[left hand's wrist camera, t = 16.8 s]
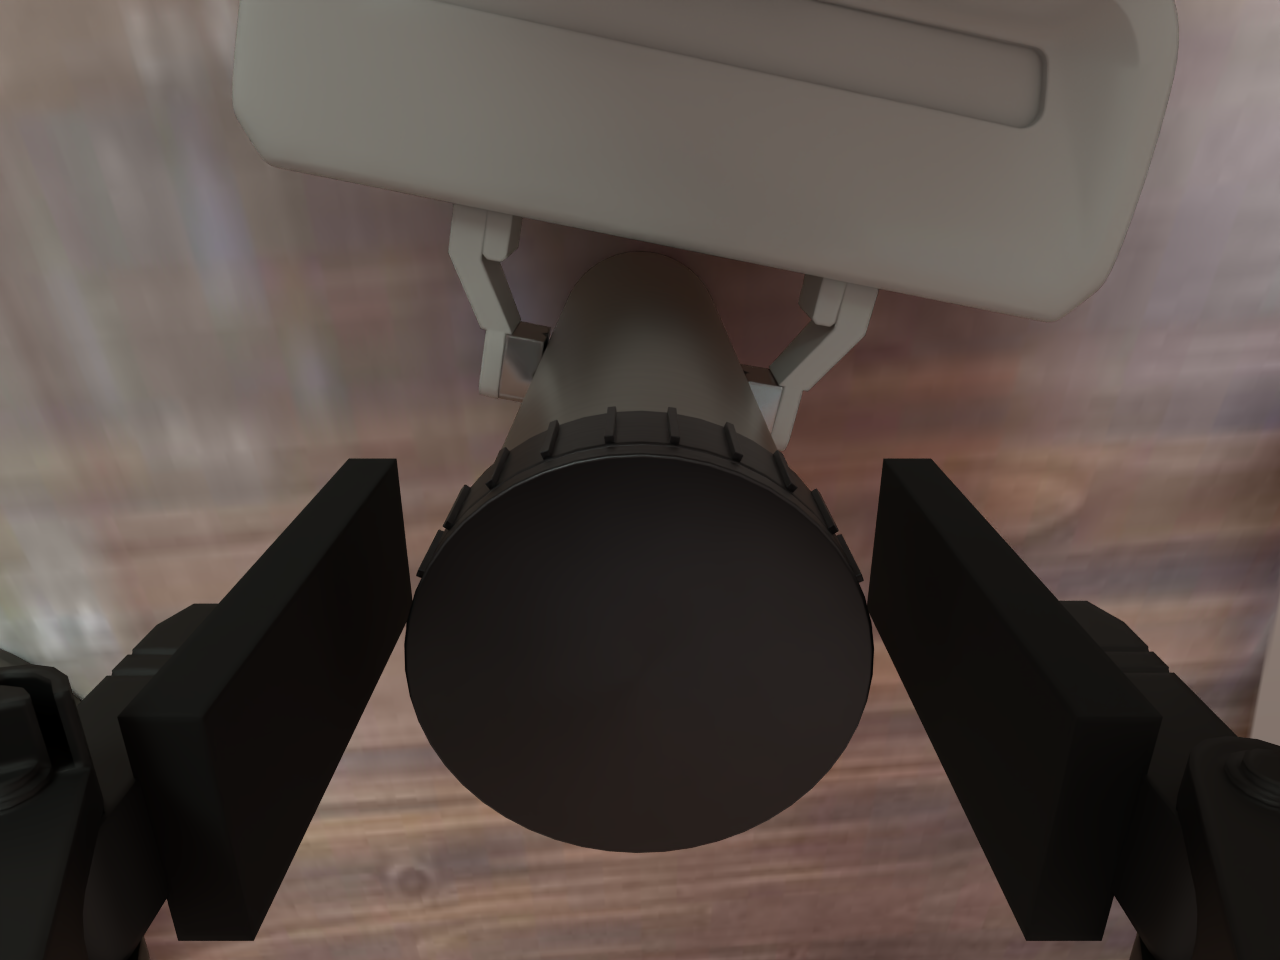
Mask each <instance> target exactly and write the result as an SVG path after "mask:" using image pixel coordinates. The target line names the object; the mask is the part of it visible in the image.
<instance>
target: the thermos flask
mask: <svg viewBox="0 0 1280 960" xmlns="http://www.w3.org/2000/svg"><path fill="white" fill-rule="evenodd" d="M613 406H616V411H617V412H624V411H654V412H667V411H668V407H673V408H676V409H677V414H680V415H685V416H690V417H695V418H700V419H703V420H706V421H709V422H711V423H714V424H717V425H720V426H723V427H724V425H725V423H726V422H729V423H731V424H733V425H734V427H735V430H736V432H737V433H739V434H741V435H743V436H745V437H747V438H749V439H751V440H753V441H754V442H756V443H757V444H759V445H760V446H762V447H763V448H765V449H766V450H768V451H769V452H771V453H772V454H774V452H775V451H776V450H777V447H776V445H775V443H774V440H773V438H772V436H771V434H770V431H769V429H768V427H767V424H766V422H765V420H764V417H763V415H762V413H761V411H760V408H759V406H758V404H757V401H756V399H755V397H754V395H753V392H752V390H751V388H750V385H749V383H748V381H747V378H746V376H745V374H744V372H743V369H742V367H741V365H740V362H739V360H738V358H737V356H736V353H735V351H734V349H733V346H732V344H731V342H730V339H729V337H728V335H727V333H726V330H725V328H724V326H723V323H722V321H721V319H720V316H719V314H718V312H717V310H716V307H715V305H714V303H713V300H712V298H711V296H710V294H709V292H708V290H707V289H706V287H705V286H704V284H703V283H702V281H701V280H700V279H699V278H698V277H697V276H696V275H695V274H694V273H693V272H692V271H691V270H690V269H689V268H687V267H686V266H684V265H683V264H682V263H680V262H678V261H676V260H674V259H672V258H670V257H667V256H664V255H661V254H657V253H652V252H641V251H638V252H627V253H622V254H618V255H615V256H612V257H610V258H607V259H605V260H603V261H601V262H600V263H598V264H597V265H595V266H594V267H592V268H591V269H590V270H589V271H588V272H586V273H585V274H584V275H583V276H582V277H581V279H580V280H579V281H578V282H577V283H576V285H575V287H574V288H573V290H572V291H571V293H570V295H569V298H568V300H567V302H566V304H565V306H564V309H563V311H562V313H561V316H560V318H559V320H558V322H557V325H556V327H555V329H554V331H553V334H552V336H551V338H550V341H549V343H548V345H547V347H546V350H545V352H544V354H543V356H542V359H541V361H540V363H539V365H538V368H537V370H536V372H535V375H534V377H533V379H532V381H531V384H530V386H529V388H528V390H527V393H526V395H525V397H524V400H523V402H522V404H521V406H520V409H519V411H518V413H517V415H516V418H515V420H514V422H513V424H512V427H511V429H510V431H509V434H508V436H507V438H506V440H505V443H504V445H503V447H502V449H503V448H504V447H506V448H507V449H508V450H509V451H510V450H512V449H513V448H515V447H517V446H518V445H520V444H521V443H523V442H524V441H526V440H528V439H529V438H531V437H533V436H535V435H537V434H540V433H542V432H544V431H546V430H548V426H549V423H550V422H552V421H554V420H558V422H559V425H560V424H564V423H567V422H570V421H573V420H576V419H580V418H583V417H588V416H593V415H599V414H604V413H607V408H608V407H613Z"/></svg>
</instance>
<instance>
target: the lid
mask: <svg viewBox="0 0 1280 960" xmlns="http://www.w3.org/2000/svg"><path fill="white" fill-rule="evenodd" d="M443 527H444V528H446V529H445V531H441V530H438V532H437V534H436V536H435V538H434V540H433V542H432V544H431V546H430V548H429V550H428V552H427V554H426V555H425V557H424V559H423V561H422V563H421V565H420V567H419V569H418V572H417V575H416V576H418V577H420V578H421V580H420V583H419V585H418V587H417V589H416V591H415V594H414V598H413V601H412V605H411V608H410V611H409V615H408V619H407V623H406V635H405V643H404V648H405V672H406V678H407V683H408V689H409V694H410V698H411V701H412V704H413V707H414V710H415V712H416V715H417V718H418V721H419V723H420V725H421V727H422V729H423V731H424V733H425V735H426V737H427V739H428V741H429V743H430V745H431V746H432V748H433V749H434V750H435V752H436V753H437V755H438V756H439V758H440V759H441V760H442V762H443V763H444V765H445V766H446V767H447V768H448V769H449V770H450V772H451V773H452V774H453V775H454V776H455V777H456V778H457V779H458V780H459V781H460V782H461V784H462V785H463V786H465V787H466V788H467V789H468V790H469V791H470V792H472V793H473V794H474V795H475V796H476V797H477V798H479V799H480V800H481V801H482V802H483V803H485V804H486V805H488V806H489V807H491V808H492V809H494V810H495V811H497V812H498V813H500V814H501V815H503V816H504V817H506V818H508V819H510V820H512V821H514V822H515V823H517V824H519V825H521V826H523V827H525V828H527V829H529V830H531V831H534V832H537V833H539V834H542V835H544V836H547V837H550V838H552V839H555V840H558V841H562V842H566V843H569V844H573V845H577V846H581V847H586V848H592V849H598V850H605V851H614V852H631V853H645V852H666V851H673V850H680V849H687V848H693V847H697V846H701V845H705V844H709V843H713V842H717V841H720V840H723V839H726V838H729V837H731V836H734V835H737V834H740V833H742V832H745V831H747V830H749V829H751V828H753V827H755V826H757V825H759V824H761V823H763V822H765V821H767V820H769V819H771V818H772V817H774V816H775V815H777V814H779V813H780V812H782V811H783V810H785V809H786V808H788V807H790V806H791V805H792V804H794V803H795V802H796V801H797V800H798V799H800V798H801V797H802V796H803V795H805V794H806V793H807V792H808V791H809V790H811V789H812V788H813V787H814V786H815V785H816V784H817V783H818V782H819V781H820V779H821V778H822V777H823V776H824V775H825V774H826V773H827V772H828V771H829V770H830V769H831V768H832V766H833V765H834V763H835V762H836V761H837V759H838V758H839V757H840V755H841V754H842V753H843V751H844V750H845V748H846V747H847V745H848V743H849V741H850V739H851V737H852V736H853V734H854V732H855V730H856V728H857V726H858V724H859V721H860V719H861V716H862V713H863V710H864V708H865V705H866V702H867V699H868V694H869V689H870V685H871V680H872V675H873V658H874V644H873V634H872V624H871V619H870V615H869V611H868V608H867V604H866V600H865V596H864V594H863V592H862V589H861V587H860V585H859V582H862V581H864V580H863V577H862V574H861V572H860V570H859V568H858V566H857V564H856V562H855V560H854V558H853V556H852V554H851V552H850V550H849V548H848V546H847V544H846V542H845V540H844V538H843V536H842V534H840V535H837V536H836V534H835V533H836V532H838V531H839V530H838V528H837V526H836V524H835V522H834V520H833V518H832V516H831V514H830V512H829V510H828V508H827V506H826V504H825V502H824V500H823V498H822V496H821V494H820V493H819V491H818V490H817V489H814V490H813V491H810V490H809V489H808V487H807V486H806V485H805V484H804V483H803V482H802V480H801V479H800V478H799V477H798V476H797V474H796V473H794V472H793V471H792V470H791V469H790V468H789V467H788V465H787V462H786V460H785V458H784V456H783V454H782V453H781V452H780V451H778V450H776V451H775V452H774V454H772V453H771V452H769V451H768V450H766V449H765V448H763V447H762V446H760V445H759V444H757V443H756V442H754V441H753V440H751V439H749V438H747V437H745V436H743V435H741V434H739V433H737V432H736V430H735V427H734V425H733V424H731V423H729V422H726V423H725V425H724V427H723V426H720V425H717V424H714V423H711V422H709V421H706V420H703V419H700V418H695V417H690V416H685V415H680V414H677V409H676V408H673V407H668V411H667V412H654V411H624V412H617V411H616V406H613V407H608V408H607V413H604V414H599V415H593V416H588V417H583V418H580V419H576V420H573V421H570V422H567V423H564V424H560V425H559V422H558V420H554V421H552V422H550V423H549V426H548V430H546V431H544V432H542V433H540V434H537V435H535V436H533V437H531V438H529V439H528V440H526V441H524V442H523V443H521V444H520V445H518V446H517V447H515V448H513V449H512V450H510V451H509V450H508V449H507V448H506V447H504V448H503V449H501V450H500V451H499V453H498V456H497V458H496V460H495V462H494V464H493V465H492V466H490V467H489V468H488V469H487V470H486V471H485V472H484V473H483V474H482V475H481V476H480V478H479V479H478V480H477V481H476V482H475V483H474V484H473V485H472V486H471V488H470V487H468V486H467V485H464V487H463V488H462V489H461V491H460V493H459V495H458V497H457V499H456V501H455V503H454V505H453V507H452V509H451V511H450V513H449V515H448V517H447V519H446V521H445V522H444V524H443Z"/></svg>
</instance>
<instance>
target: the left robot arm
mask: <svg viewBox="0 0 1280 960" xmlns="http://www.w3.org/2000/svg"><path fill="white" fill-rule="evenodd" d="M411 605H412V593H411V584H410V575H409V566H408V557H407V548H406V539H405V530H404V521H403V512H402V503H401V495H400V486H399V477H398V468H397V459H348V460H347V461H346V463H345V464H344V465H343V466H342V467H341V468H340V469H339V470H338V471H337V473H336V474H335V475H334V476H333V477H332V478H331V479H330V480H329V481H328V483H327V484H326V485H325V486H324V487H323V488H322V489H321V490H320V491H319V493H318V494H317V495H316V496H315V497H314V498H313V499H312V500H311V501H310V503H309V504H308V505H307V506H306V507H305V508H304V509H303V510H302V511H301V513H300V514H299V515H298V516H297V517H296V518H295V519H294V520H293V522H292V523H291V524H290V525H289V526H288V527H287V528H286V529H285V530H284V532H283V533H282V534H281V535H280V536H279V537H278V538H277V539H276V540H275V542H274V543H273V544H272V545H271V546H270V547H269V548H268V549H267V550H266V552H265V553H264V554H263V555H262V556H261V557H260V558H259V559H258V560H257V562H256V563H255V564H254V565H253V566H252V567H251V568H250V569H249V570H248V572H247V573H246V574H245V575H244V576H243V577H242V578H241V579H240V581H239V582H238V583H237V584H236V585H235V586H234V587H233V588H232V589H231V591H230V592H229V593H228V594H227V595H226V596H225V597H224V598H223V599H222V601H221V602H220V603H219V604H193V605H191V606H189V607H187V608H186V609H184V610H182V611H180V612H179V613H177V614H175V615H173V616H172V617H170V618H168V619H166V620H165V621H163V622H161V623H159V624H158V625H156V626H155V627H154V628H153V629H152V630H151V631H150V632H149V633H148V634H147V635H146V637H145V638H144V639H143V640H142V641H141V642H140V643H139V644H138V645H137V646H136V647H135V648H134V649H133V652H132V655H127V656H126V657H125V658H124V659H123V660H122V661H121V662H120V663H119V664H118V665H117V666H116V667H115V668H114V669H113V670H112V675H111V676H106V677H105V678H104V679H103V680H102V681H101V682H100V683H99V684H98V685H97V686H96V687H95V688H94V689H93V690H92V691H91V692H90V693H89V694H88V695H87V696H86V697H85V698H84V699H83V700H82V701H80V700H79V699H78V698H76V697H75V696H74V695H73V693H72V690H71V686H70V683H69V679H68V676H67V675H65V674H63V673H62V672H60V671H59V670H57V669H56V668H54V667H48V666H40V665H32V664H30V663H28V662H26V661H24V660H22V659H21V658H19V657H17V656H15V655H13V654H11V653H9V652H7V651H4V650H2V649H0V960H150V958H149V952H148V949H147V945H146V942H145V938H144V934H145V933H146V931H147V929H148V928H149V926H150V924H151V923H152V921H153V920H154V918H155V916H156V915H157V913H158V912H159V910H160V908H161V907H162V905H163V904H164V902H165V900H166V899H167V901H168V905H169V908H170V912H171V916H172V919H173V923H174V927H175V930H176V934H177V938H178V941H254V939H255V937H256V935H257V933H258V931H259V929H260V926H261V924H262V922H263V920H264V918H265V916H266V914H267V912H268V910H269V908H270V906H271V904H272V901H273V899H274V897H275V895H276V893H277V891H278V889H279V887H280V885H281V883H282V881H283V878H284V876H285V874H286V872H287V870H288V868H289V866H290V864H291V862H292V860H293V858H294V856H295V853H296V851H297V849H298V847H299V845H300V843H301V841H302V839H303V837H304V835H305V833H306V830H307V828H308V826H309V824H310V822H311V820H312V818H313V816H314V814H315V812H316V810H317V808H318V805H319V803H320V801H321V799H322V797H323V795H324V793H325V791H326V789H327V787H328V785H329V783H330V780H331V778H332V776H333V774H334V772H335V770H336V768H337V766H338V764H339V762H340V760H341V757H342V755H343V753H344V751H345V749H346V747H347V745H348V743H349V741H350V739H351V737H352V735H353V732H354V730H355V728H356V726H357V724H358V722H359V720H360V718H361V716H362V714H363V712H364V709H365V707H366V705H367V703H368V701H369V699H370V697H371V695H372V693H373V691H374V689H375V687H376V684H377V682H378V680H379V678H380V676H381V674H382V672H383V670H384V668H385V666H386V664H387V661H388V659H389V657H390V655H391V653H392V651H393V649H394V647H395V645H396V643H397V641H398V639H399V636H400V634H401V632H402V630H403V628H404V626H405V624H406V622H407V619H408V615H409V611H410V608H411ZM867 608H868V611H869V613H870V616H871V618H872V620H873V622H874V624H875V626H876V628H877V630H878V632H879V634H880V636H881V639H882V641H883V643H884V645H885V647H886V649H887V651H888V653H889V655H890V657H891V659H892V661H893V664H894V666H895V668H896V670H897V672H898V674H899V676H900V678H901V680H902V682H903V684H904V687H905V689H906V691H907V693H908V695H909V697H910V699H911V701H912V703H913V705H914V707H915V709H916V712H917V714H918V716H919V718H920V720H921V722H922V724H923V726H924V728H925V730H926V732H927V735H928V737H929V739H930V741H931V743H932V745H933V747H934V749H935V751H936V753H937V755H938V757H939V760H940V762H941V764H942V766H943V768H944V770H945V772H946V774H947V776H948V778H949V780H950V783H951V785H952V787H953V789H954V791H955V793H956V795H957V797H958V799H959V801H960V803H961V805H962V808H963V810H964V812H965V814H966V816H967V818H968V820H969V822H970V824H971V826H972V828H973V830H974V833H975V835H976V837H977V839H978V841H979V843H980V845H981V847H982V849H983V851H984V853H985V856H986V858H987V860H988V862H989V864H990V866H991V868H992V870H993V872H994V874H995V876H996V878H997V881H998V883H999V885H1000V887H1001V889H1002V891H1003V893H1004V895H1005V897H1006V899H1007V901H1008V904H1009V906H1010V908H1011V910H1012V912H1013V914H1014V916H1015V918H1016V920H1017V922H1018V924H1019V926H1020V929H1021V931H1022V933H1023V935H1024V937H1025V939H1026V941H1102V938H1103V934H1104V930H1105V927H1106V923H1107V919H1108V916H1109V912H1110V908H1111V905H1112V901H1113V897H1114V896H1115V897H1116V899H1117V901H1118V902H1119V904H1120V905H1121V907H1122V909H1123V910H1124V912H1125V913H1126V915H1127V917H1128V918H1129V920H1130V921H1131V923H1132V925H1133V926H1134V928H1135V929H1136V931H1137V935H1136V938H1135V942H1134V945H1133V949H1132V952H1131V955H1130V959H1129V960H1280V746H1278V745H1275V744H1271V743H1268V742H1265V741H1262V740H1258V739H1251V738H1243V737H1237V736H1236V735H1235V734H1234V733H1233V732H1232V731H1231V730H1230V729H1229V728H1228V726H1227V725H1226V724H1225V723H1224V722H1223V721H1222V720H1221V719H1220V718H1219V717H1218V716H1217V715H1216V714H1215V713H1214V712H1213V711H1212V710H1211V709H1210V708H1209V707H1208V706H1207V705H1206V704H1205V703H1204V702H1203V701H1202V700H1201V699H1200V698H1199V697H1198V696H1197V695H1196V694H1195V693H1194V692H1193V691H1192V690H1191V689H1190V688H1189V687H1188V686H1187V685H1186V684H1185V683H1184V682H1183V681H1182V680H1181V679H1180V678H1179V677H1178V676H1177V675H1176V674H1175V673H1169V667H1168V666H1167V665H1166V664H1165V663H1164V662H1163V661H1162V660H1161V659H1160V658H1159V657H1158V656H1157V655H1156V654H1155V653H1154V652H1149V650H1148V646H1147V645H1146V644H1145V643H1144V642H1143V641H1142V640H1141V639H1140V638H1139V637H1138V636H1137V635H1136V634H1135V633H1134V632H1133V631H1132V630H1131V629H1130V628H1129V627H1128V626H1127V625H1126V624H1125V623H1124V622H1123V621H1121V620H1119V619H1118V618H1116V617H1114V616H1112V615H1111V614H1109V613H1107V612H1105V611H1104V610H1102V609H1100V608H1098V607H1097V606H1095V605H1093V604H1091V603H1090V602H1088V601H1058V599H1057V598H1056V597H1055V596H1054V595H1053V594H1052V593H1051V592H1050V591H1049V589H1048V588H1047V587H1046V586H1045V585H1044V584H1043V583H1042V582H1041V581H1040V579H1039V578H1038V577H1037V576H1036V575H1035V574H1034V573H1033V572H1032V570H1031V569H1030V568H1029V567H1028V566H1027V565H1026V564H1025V563H1024V562H1023V560H1022V559H1021V558H1020V557H1019V556H1018V555H1017V554H1016V553H1015V552H1014V550H1013V549H1012V548H1011V547H1010V546H1009V545H1008V544H1007V543H1006V542H1005V540H1004V539H1003V538H1002V537H1001V536H1000V535H999V534H998V533H997V532H996V530H995V529H994V528H993V527H992V526H991V525H990V524H989V523H988V522H987V520H986V519H985V518H984V517H983V516H982V515H981V514H980V513H979V511H978V510H977V509H976V508H975V507H974V506H973V505H972V504H971V503H970V501H969V500H968V499H967V498H966V497H965V496H964V495H963V494H962V493H961V491H960V490H959V489H958V488H957V487H956V486H955V485H954V484H953V483H952V481H951V480H950V479H949V478H948V477H947V476H946V475H945V474H944V473H943V471H942V470H941V469H940V468H939V467H938V466H937V465H936V464H935V463H934V461H933V460H932V459H883V468H882V477H881V486H880V495H879V503H878V512H877V521H876V530H875V539H874V548H873V557H872V566H871V575H870V584H869V593H868V601H867Z"/></svg>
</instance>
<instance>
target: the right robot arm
mask: <svg viewBox="0 0 1280 960" xmlns="http://www.w3.org/2000/svg"><path fill="white" fill-rule="evenodd" d="M1178 45H1179V26H1178V15H1177V10H1176V5H1175V2H1174V0H240V2H239V11H238V21H237V30H236V40H235V53H234V65H233V81H232V102H233V109H234V113H235V115H236V118H237V120H238V121H239V123H240V125H241V126H242V128H243V129H244V131H245V133H246V134H247V136H248V137H249V139H250V141H251V142H252V144H253V146H254V147H255V149H256V150H257V152H258V153H259V154H260V156H261V157H262V159H263V160H264V161H265V162H266V163H268V164H269V165H271V166H274V167H277V168H282V169H287V170H291V171H296V172H301V173H306V174H311V175H316V176H321V177H326V178H331V179H336V180H341V181H346V182H351V183H356V184H361V185H366V186H371V187H376V188H381V189H386V190H391V191H396V192H401V193H406V194H411V195H416V196H420V197H425V198H430V199H435V200H440V201H445V202H450V203H453V213H452V222H451V231H450V240H449V249H448V253H449V256H450V258H451V260H452V263H453V265H454V267H455V270H456V272H457V274H458V277H459V279H460V281H461V284H462V286H463V288H464V291H465V293H466V295H467V298H468V300H469V302H470V305H471V307H472V309H473V312H474V314H475V316H476V319H477V321H478V323H479V325H480V328H481V329H484V330H486V334H485V342H484V350H483V357H482V365H481V373H480V381H479V394H480V395H484V396H488V397H492V398H496V399H498V398H501V399H507V400H512V401H518V402H523V400H524V397H525V395H526V393H527V390H528V388H529V386H530V384H531V381H532V379H533V377H534V375H535V372H536V370H537V368H538V365H539V363H540V361H541V359H542V356H543V354H544V352H545V350H546V347H547V345H548V342H549V336H550V329H551V327H546V326H541V325H537V324H532V323H528V322H523V321H521V318H520V315H519V312H518V310H517V307H516V304H515V302H514V299H513V296H512V294H511V291H510V288H509V286H508V283H507V280H506V278H505V275H504V272H503V270H502V267H501V264H500V262H502V261H504V260H505V259H506V258H507V257H508V256H510V255H511V254H512V253H513V252H514V251H515V250H516V249H517V248H518V245H519V239H520V232H521V225H522V218H523V217H525V218H530V219H535V220H540V221H545V222H550V223H555V224H560V225H565V226H570V227H575V228H579V229H584V230H589V231H594V232H599V233H604V234H609V235H614V236H619V237H624V238H629V239H634V240H639V241H644V242H649V243H654V244H659V245H664V246H669V247H674V248H679V249H684V250H689V251H694V252H699V253H704V254H709V255H714V256H719V257H724V258H729V259H734V260H739V261H743V262H748V263H753V264H758V265H763V266H768V267H773V268H778V269H783V270H788V271H793V272H798V273H803V274H805V277H804V281H803V285H802V289H801V293H800V298H799V302H798V304H799V306H800V308H801V309H802V310H803V311H804V312H805V313H806V314H807V315H808V316H809V317H810V318H811V319H812V320H811V321H810V322H809V324H808V325H807V326H806V327H805V328H804V329H803V330H802V331H801V332H800V333H799V334H798V336H797V337H796V338H795V339H794V340H793V341H792V342H791V343H790V344H789V345H788V347H787V348H786V349H785V350H784V351H783V352H782V353H781V354H780V355H779V356H778V358H777V359H776V360H775V361H774V362H773V363H772V364H771V365H770V366H769V368H770V369H767V368H761V367H755V366H749V365H743V364H740V365H741V367H742V369H743V372H744V374H745V376H746V378H747V381H748V383H749V385H750V388H751V390H752V392H753V395H754V397H755V399H756V401H757V404H758V406H759V408H760V411H761V413H762V415H763V417H764V420H765V422H766V424H767V427H768V429H769V431H770V434H771V436H772V438H773V440H774V443H775V445H776V447H777V450H778V451H784V450H785V449H786V447H787V445H788V443H789V440H790V436H791V433H792V429H793V425H794V422H795V418H796V414H797V411H798V407H799V404H800V400H801V396H802V393H803V391H809V390H810V389H811V388H812V387H813V386H814V385H815V384H816V383H817V382H818V381H819V380H820V379H821V378H822V377H823V376H824V375H825V374H826V373H827V372H828V371H829V370H830V369H831V368H832V367H833V366H834V365H835V364H836V363H837V362H838V361H839V360H840V359H841V358H843V357H844V356H845V355H846V354H847V353H848V352H849V351H850V350H851V349H852V348H853V347H854V346H855V345H856V344H857V343H858V342H859V341H860V340H861V339H862V338H863V337H864V336H865V334H866V331H867V327H868V324H869V321H870V317H871V314H872V311H873V307H874V304H875V301H876V297H877V294H878V291H879V289H883V290H888V291H893V292H898V293H903V294H907V295H912V296H917V297H922V298H927V299H932V300H937V301H942V302H947V303H952V304H957V305H962V306H967V307H972V308H977V309H982V310H987V311H992V312H997V313H1002V314H1007V315H1012V316H1017V317H1022V318H1027V319H1032V320H1037V321H1042V322H1055V321H1057V320H1059V319H1061V318H1062V317H1064V316H1065V315H1067V314H1068V313H1070V312H1071V311H1073V310H1074V309H1075V308H1076V307H1078V306H1079V305H1080V304H1082V303H1083V302H1084V301H1085V300H1087V299H1088V298H1089V297H1090V296H1092V295H1093V294H1094V293H1095V292H1097V291H1098V290H1099V289H1100V288H1101V286H1102V285H1103V284H1104V283H1105V281H1106V279H1107V277H1108V275H1109V274H1110V272H1111V270H1112V268H1113V266H1114V263H1115V261H1116V259H1117V256H1118V254H1119V251H1120V249H1121V246H1122V244H1123V241H1124V239H1125V236H1126V233H1127V231H1128V228H1129V225H1130V222H1131V220H1132V217H1133V214H1134V211H1135V209H1136V206H1137V203H1138V200H1139V197H1140V194H1141V191H1142V188H1143V185H1144V182H1145V179H1146V176H1147V173H1148V170H1149V166H1150V163H1151V160H1152V156H1153V153H1154V150H1155V146H1156V143H1157V140H1158V136H1159V133H1160V129H1161V125H1162V122H1163V118H1164V115H1165V111H1166V107H1167V104H1168V100H1169V96H1170V92H1171V88H1172V84H1173V79H1174V74H1175V69H1176V63H1177V55H1178Z"/></svg>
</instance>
